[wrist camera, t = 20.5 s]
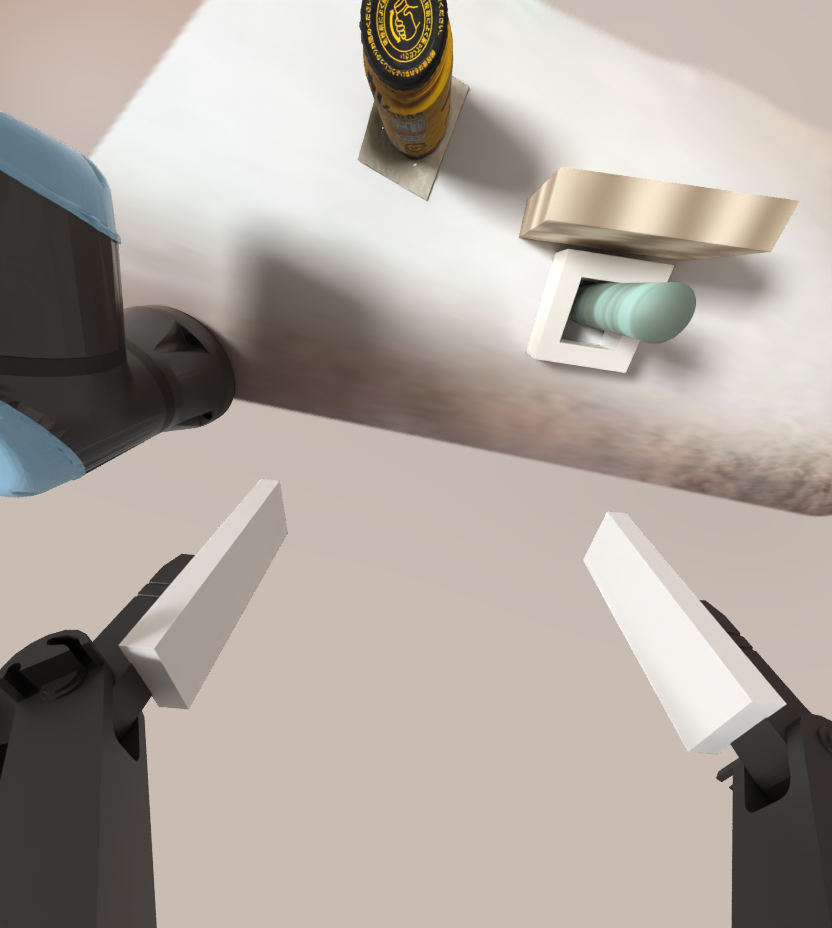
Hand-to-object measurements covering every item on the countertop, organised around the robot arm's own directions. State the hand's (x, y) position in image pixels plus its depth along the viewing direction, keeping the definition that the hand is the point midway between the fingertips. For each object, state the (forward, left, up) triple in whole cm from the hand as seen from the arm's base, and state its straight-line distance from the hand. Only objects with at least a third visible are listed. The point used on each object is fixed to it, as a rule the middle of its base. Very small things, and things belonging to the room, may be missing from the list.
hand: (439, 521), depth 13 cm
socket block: (+15, +8, -30) cm, 34 cm away
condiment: (-6, +21, -30) cm, 37 cm away
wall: (+14, +15, -30) cm, 37 cm away
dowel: (+15, +9, -30) cm, 35 cm away
